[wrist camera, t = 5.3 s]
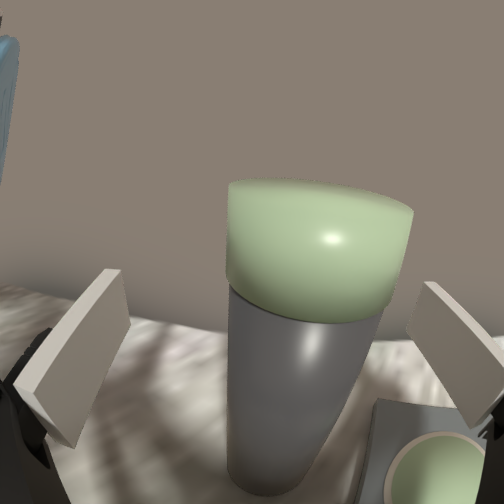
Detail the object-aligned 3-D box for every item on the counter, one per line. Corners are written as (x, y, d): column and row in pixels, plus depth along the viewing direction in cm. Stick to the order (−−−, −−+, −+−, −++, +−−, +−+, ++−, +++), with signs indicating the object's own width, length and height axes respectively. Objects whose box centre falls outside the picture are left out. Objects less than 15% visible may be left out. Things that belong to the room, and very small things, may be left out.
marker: (210, 478, 10) (187, 192, 5) (246, 422, 13) (267, 173, 9) (292, 507, 8) (432, 236, 4) (317, 444, 12) (401, 196, 7)
